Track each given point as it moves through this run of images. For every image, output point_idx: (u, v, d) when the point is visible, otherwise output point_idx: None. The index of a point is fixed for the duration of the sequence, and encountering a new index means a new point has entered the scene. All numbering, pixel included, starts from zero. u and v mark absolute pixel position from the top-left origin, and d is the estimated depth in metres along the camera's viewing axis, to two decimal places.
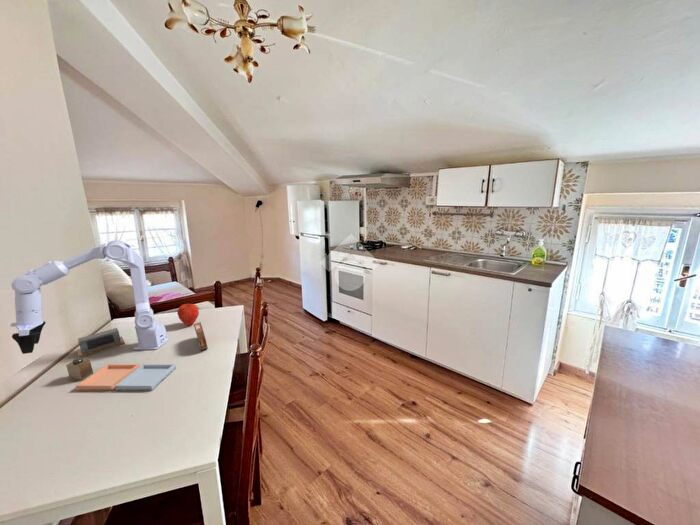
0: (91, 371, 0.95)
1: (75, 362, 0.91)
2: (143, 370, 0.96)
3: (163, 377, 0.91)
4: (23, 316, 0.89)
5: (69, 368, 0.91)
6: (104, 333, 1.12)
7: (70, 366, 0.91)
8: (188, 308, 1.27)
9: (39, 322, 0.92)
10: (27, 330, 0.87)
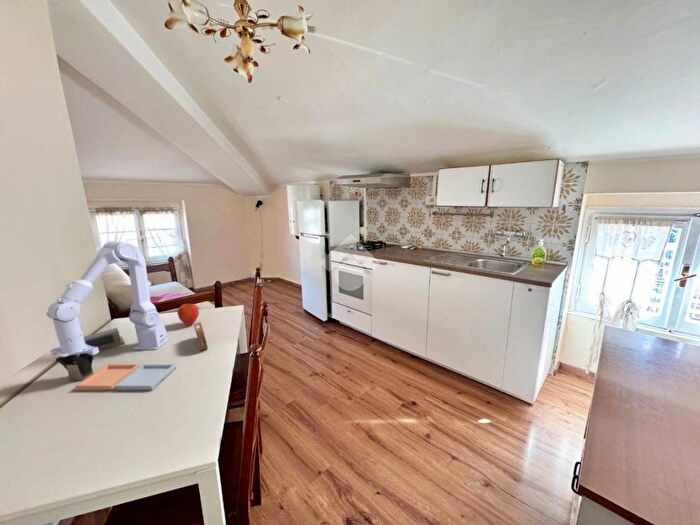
0: (91, 371, 0.95)
1: (75, 362, 0.91)
2: (143, 370, 0.96)
3: (163, 377, 0.91)
4: (77, 341, 0.90)
5: (69, 368, 0.91)
6: (104, 333, 1.12)
7: (70, 366, 0.91)
8: (188, 308, 1.27)
9: (85, 344, 0.94)
10: (97, 348, 0.92)
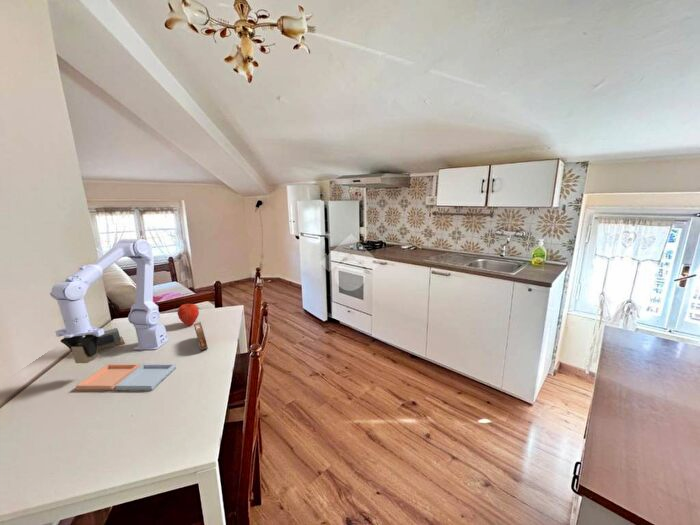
0: (96, 354, 0.93)
1: (80, 344, 0.89)
2: (143, 370, 0.96)
3: (163, 377, 0.91)
4: (82, 322, 0.88)
5: (74, 350, 0.89)
6: (104, 333, 1.12)
7: (75, 348, 0.89)
8: (188, 308, 1.27)
9: (91, 326, 0.92)
10: (102, 329, 0.90)
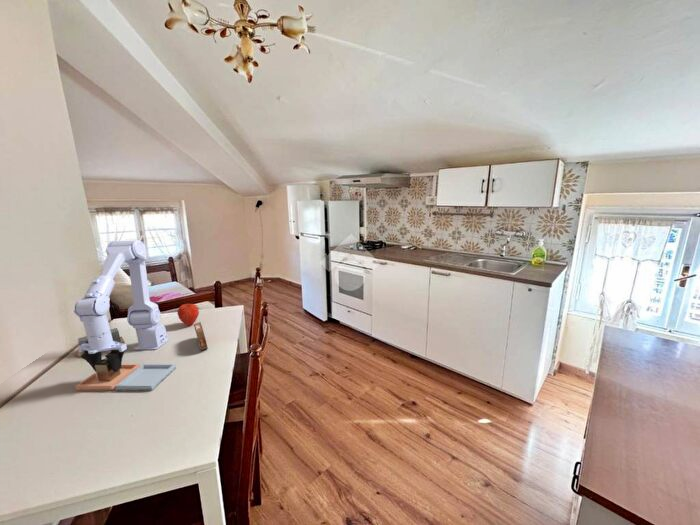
0: (119, 371, 0.94)
1: (103, 362, 0.90)
2: (143, 370, 0.96)
3: (163, 377, 0.91)
4: (106, 337, 0.88)
5: (97, 368, 0.89)
6: None
7: (98, 366, 0.89)
8: (188, 308, 1.27)
9: (113, 341, 0.92)
10: (125, 344, 0.90)
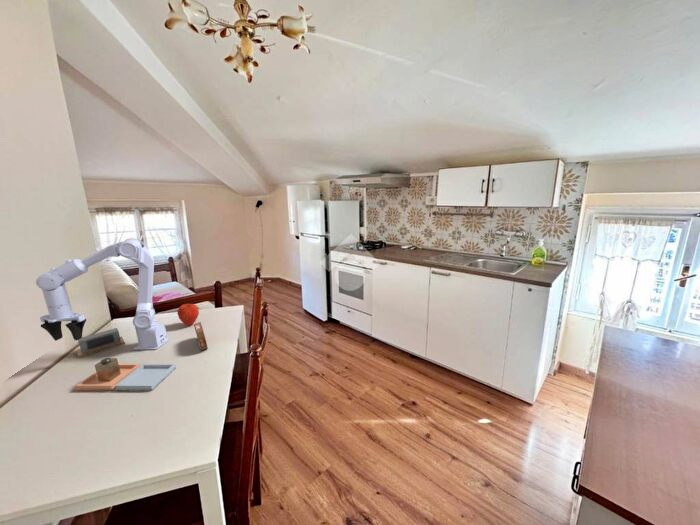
0: (119, 371, 0.94)
1: (103, 362, 0.90)
2: (143, 370, 0.96)
3: (163, 377, 0.91)
4: (64, 308, 0.97)
5: (97, 368, 0.89)
6: (104, 333, 1.12)
7: (98, 366, 0.89)
8: (188, 308, 1.27)
9: None
10: (83, 315, 0.99)
